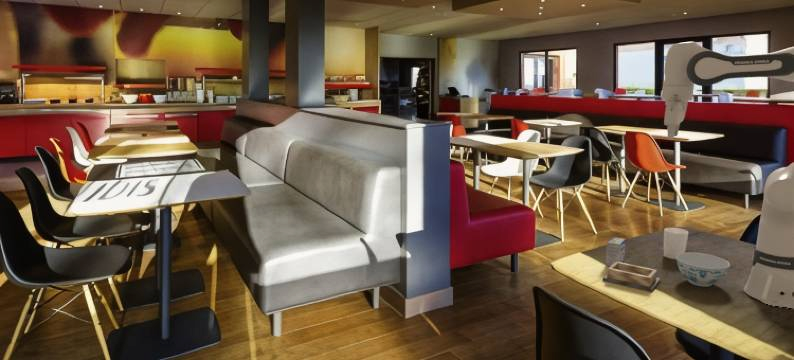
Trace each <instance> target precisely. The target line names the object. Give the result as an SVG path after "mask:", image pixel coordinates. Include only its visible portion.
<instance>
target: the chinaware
mask: <svg viewBox="0 0 794 360" xmlns="http://www.w3.org/2000/svg"><path fill="white" fill-rule="evenodd" d="M675 261H676V264H677V268H678V269H679V271H680V273H681V274H682V275H683V276H684V277H685V278H686V279H687V281H688V282H689V284H691V285H694V286H698V287H702V288H703V287H705V288H706V287H711V286H712V285H713V284H714V283H717V282H719V281H720V280H722V279H723V278H724V277H725V276H726V275H727V273H728V271H729V269H730V266H731V264H730V262H729V261H728V260H726V259H724V258H722V257H719V256H717V255H712V254H709V253H703V252H702V253H701V252H685V253H680V254H678V255H677V256H676V259H675Z"/></svg>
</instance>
